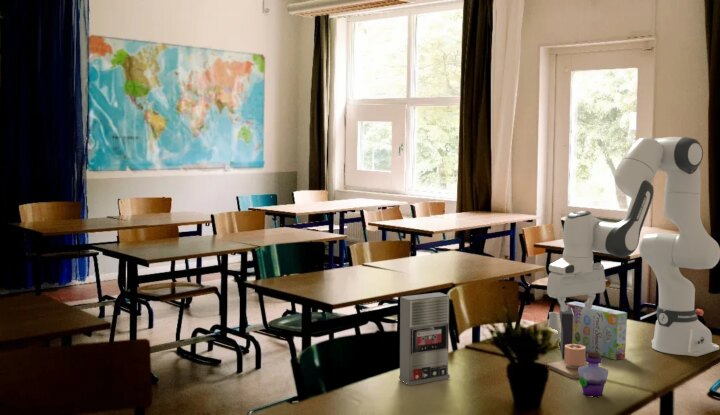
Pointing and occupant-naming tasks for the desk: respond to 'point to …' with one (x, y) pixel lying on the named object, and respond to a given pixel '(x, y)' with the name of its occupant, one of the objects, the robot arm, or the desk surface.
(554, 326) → the flask
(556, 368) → the stand
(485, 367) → the desk surface
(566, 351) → the pink cylinder
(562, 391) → the desk surface
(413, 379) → the cassette tape recorder
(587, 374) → the potion bottle
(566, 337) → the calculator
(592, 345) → the snack box
